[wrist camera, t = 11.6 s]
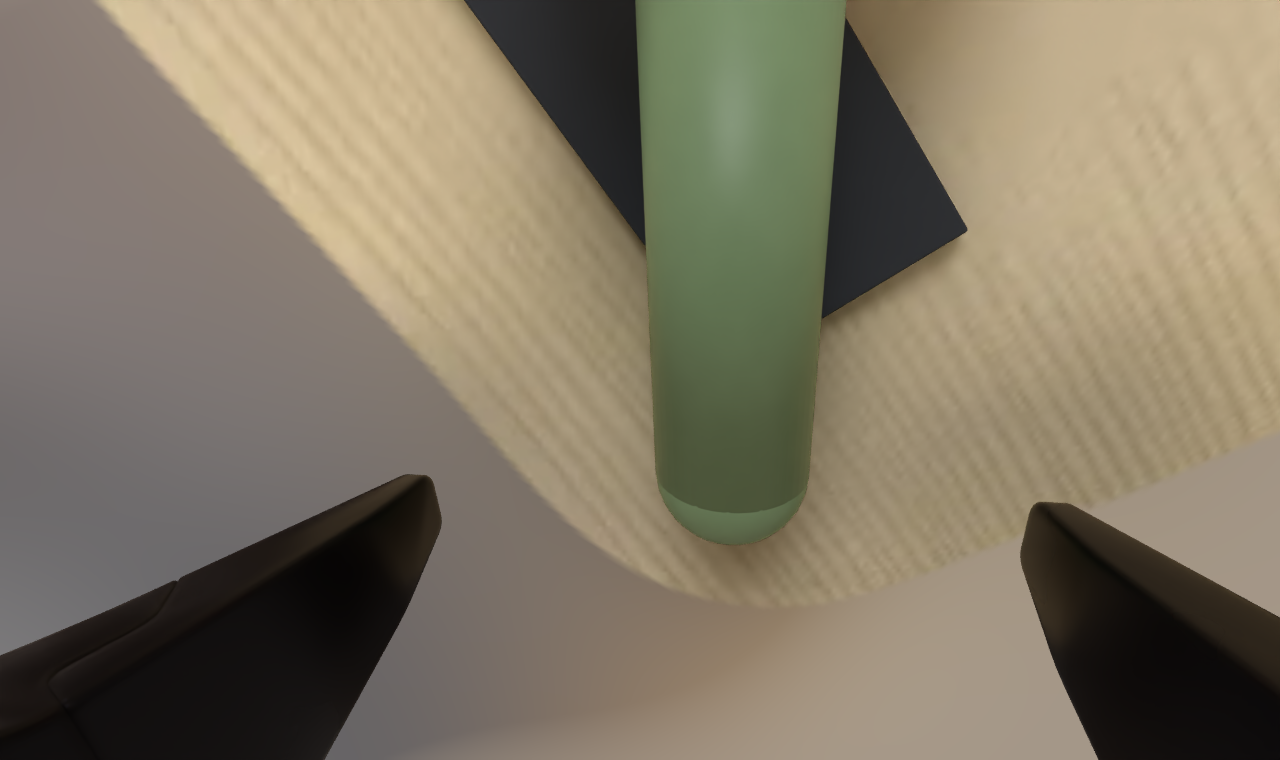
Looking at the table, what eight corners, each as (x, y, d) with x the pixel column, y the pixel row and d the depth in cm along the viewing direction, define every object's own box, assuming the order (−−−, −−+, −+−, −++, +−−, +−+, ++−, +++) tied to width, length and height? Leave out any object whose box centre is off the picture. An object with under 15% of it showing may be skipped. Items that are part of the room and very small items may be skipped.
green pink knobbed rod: (882, 478, 14) (962, 590, 11) (555, 496, 14) (534, 614, 11) (1013, -469, 8) (1286, -871, 5) (437, -442, 8) (307, -830, 5)
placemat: (962, 226, 11) (969, 231, 11) (737, 363, 13) (736, 371, 13) (639, -333, 9) (634, -352, 9) (419, -69, 11) (408, -75, 10)
